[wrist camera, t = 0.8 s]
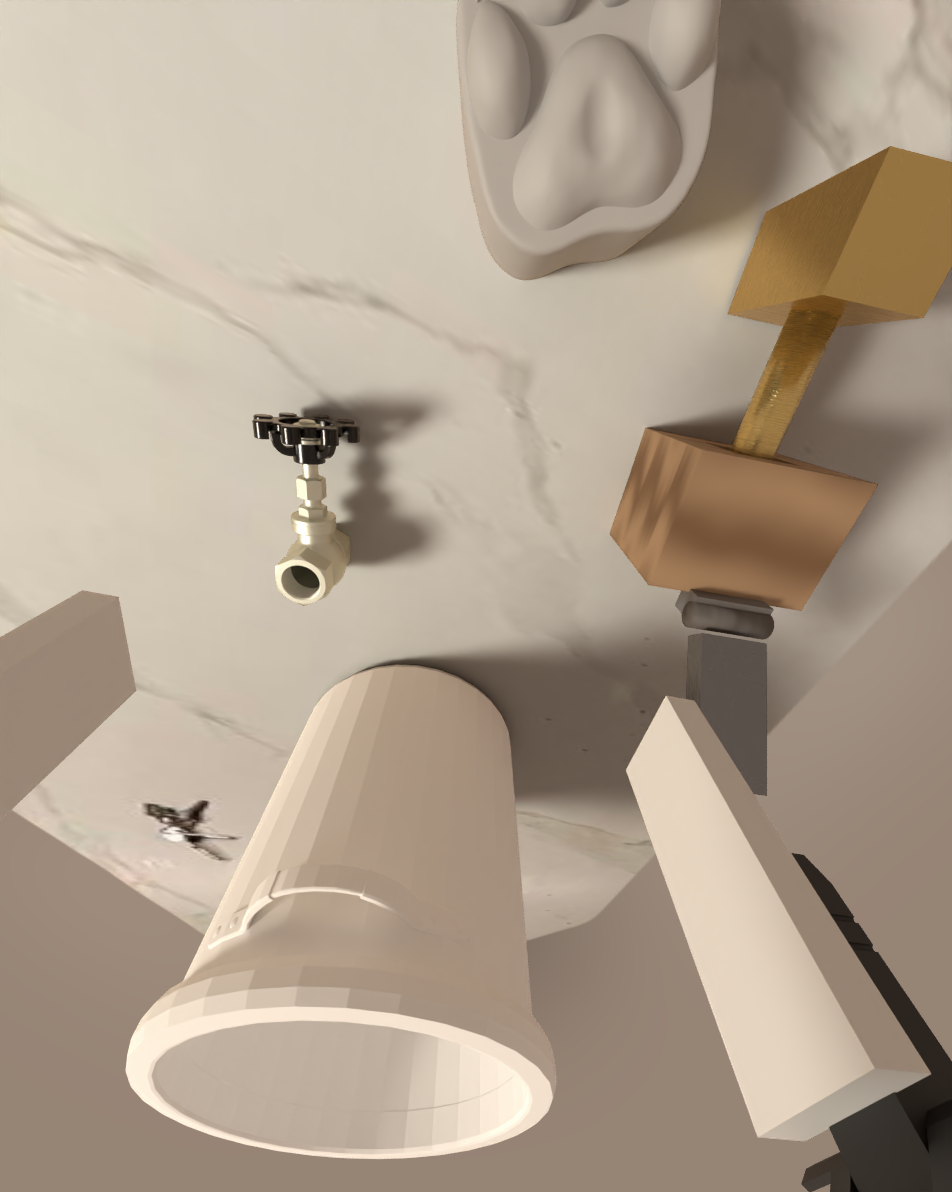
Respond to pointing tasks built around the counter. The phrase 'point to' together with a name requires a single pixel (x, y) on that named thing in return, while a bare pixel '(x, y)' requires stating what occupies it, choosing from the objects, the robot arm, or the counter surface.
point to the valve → (310, 504)
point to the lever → (733, 699)
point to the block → (732, 529)
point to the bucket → (366, 945)
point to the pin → (841, 272)
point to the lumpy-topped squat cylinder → (582, 121)
